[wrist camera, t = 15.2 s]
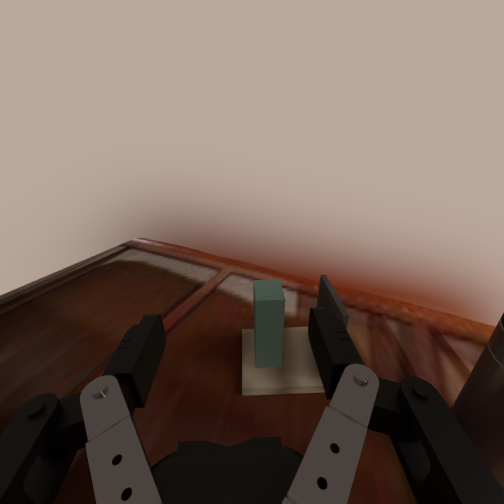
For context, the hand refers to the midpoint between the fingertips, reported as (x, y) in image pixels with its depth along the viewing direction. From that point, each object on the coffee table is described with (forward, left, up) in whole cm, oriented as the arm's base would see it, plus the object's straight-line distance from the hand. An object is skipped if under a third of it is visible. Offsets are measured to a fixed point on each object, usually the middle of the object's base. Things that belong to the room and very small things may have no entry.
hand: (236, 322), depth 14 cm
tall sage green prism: (-4, -19, -24) cm, 31 cm away
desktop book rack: (-7, -19, -26) cm, 33 cm away
